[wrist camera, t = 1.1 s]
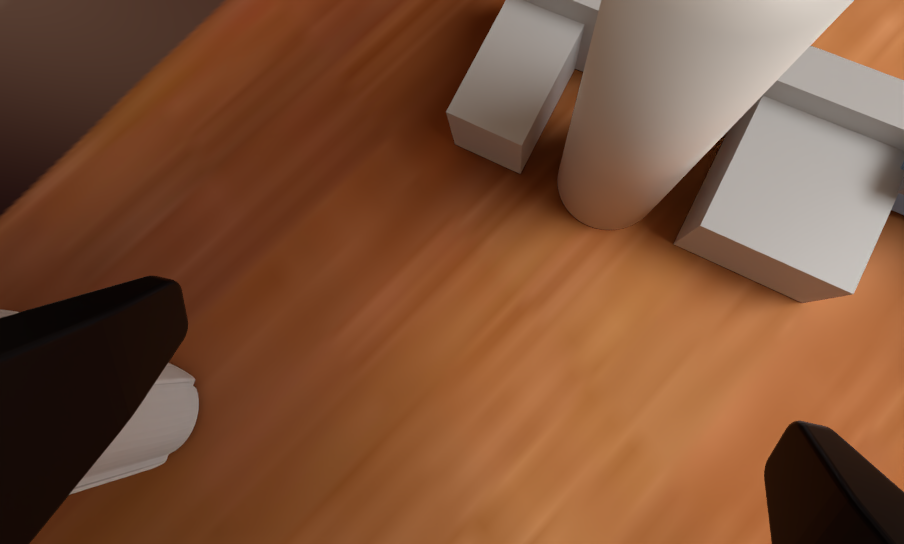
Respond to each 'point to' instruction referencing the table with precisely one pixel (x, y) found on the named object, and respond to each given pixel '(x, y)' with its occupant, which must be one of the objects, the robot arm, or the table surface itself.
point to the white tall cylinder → (671, 93)
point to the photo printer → (147, 429)
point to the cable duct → (722, 150)
